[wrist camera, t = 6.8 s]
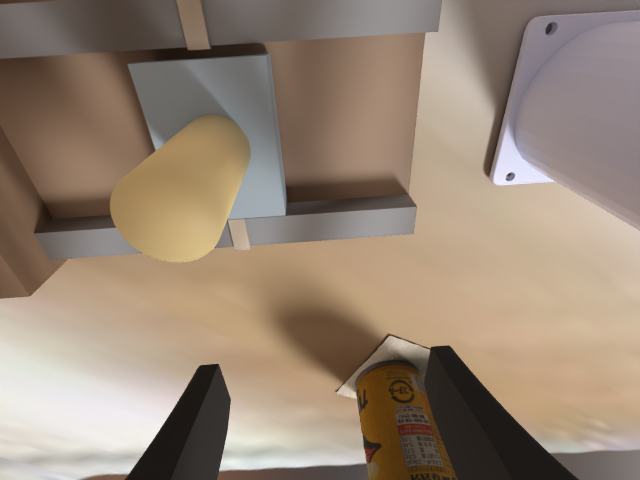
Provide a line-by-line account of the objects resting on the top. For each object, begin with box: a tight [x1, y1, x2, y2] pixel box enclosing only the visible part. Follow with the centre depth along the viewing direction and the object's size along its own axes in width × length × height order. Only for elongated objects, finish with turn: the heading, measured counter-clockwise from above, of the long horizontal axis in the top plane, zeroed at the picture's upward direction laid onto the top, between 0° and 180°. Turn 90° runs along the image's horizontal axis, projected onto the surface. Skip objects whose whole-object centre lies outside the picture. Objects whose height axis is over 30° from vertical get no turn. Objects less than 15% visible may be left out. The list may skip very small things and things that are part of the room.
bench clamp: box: [0, 0, 442, 298], centre depth 15 cm, size 22×12×5 cm, turn 93°
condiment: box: [336, 336, 457, 480], centre depth 24 cm, size 7×8×12 cm
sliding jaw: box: [110, 53, 287, 262], centre depth 12 cm, size 5×7×8 cm
